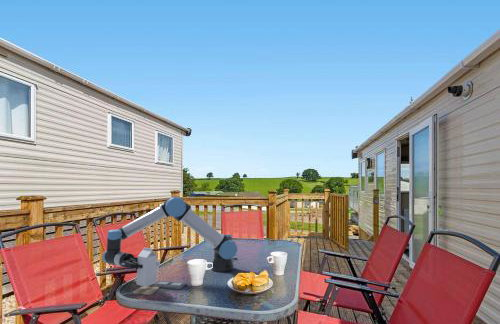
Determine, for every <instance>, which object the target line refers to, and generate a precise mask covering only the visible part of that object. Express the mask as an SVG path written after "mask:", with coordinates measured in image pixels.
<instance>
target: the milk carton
mask: <svg viewBox="0 0 500 324" xmlns="http://www.w3.org/2000/svg"><path fill="white" fill-rule="evenodd" d="M142 247H143V246H142ZM137 258H138V264H139V263H144V264H148V270H145V269H140V268H138V269H137V270H136V285H137V286H140V287H141V286H144V287H146V286H153V285H155V284H156V283H157V267H158V266H157V261H158V255H157V254H156V253H155V252H154V251H153V248H150V247H143V249H142V250H141V251H140V253H139V254H138V255H137Z"/></svg>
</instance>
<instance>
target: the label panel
mask: <svg viewBox="0 0 500 324" xmlns="http://www.w3.org/2000/svg"><path fill="white" fill-rule="evenodd" d="M186 285H187V282H184V281H182V282H181V281H168V280H159V281H158V282H156V284H153V285H152V286H153V287H159V289H166V290H167V289H168V290H169V289H170V290H182V289H183V288H184V287H186Z"/></svg>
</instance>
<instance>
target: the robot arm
mask: <svg viewBox="0 0 500 324" xmlns="http://www.w3.org/2000/svg"><path fill="white" fill-rule="evenodd" d="M169 217H172V218H174V219H175V220H176V221H177V222H182V223H184V224H185V225H186V226H187V227H189V228H190V229H191V230H193V231H194V232H195V233H196V234H197V235H199V236H200V237H201V238H203V240H205V242H208V243H209V245H211V249H212V250H213V259H212V262H211V267H212V263H213V268H212V269H211V270H212V271H213V272H216V273H218V272H219V273H225V272H226V273H227V272H231V271H233V270H234V269H235V268H234V267H235V266H234V263H233V258H235V256H236V255H237V253H238V245H237V244H236V243H237V242H235V241H234V240H232V239H233V237H232V235H231V234H225V233H220V232H218V231H217V230H216V229H215V228H214V227H213V226H212V225H210V224H209V223H207V222H206V221H205V220H204V219H202V217H200V216H199V215H198V214H196V213H195V212H194V211H193V210H192V206H191V205H189V204H188V203H187V202H186V201H185V200H184V199H182V198H181V197H179V196H178V195H177V196H171V197H169V198H168V199H166V200H165V201H163V202H162V203H160V204H159V206H158V207H156V208H155V209H152V210H151V211H149V212H147V213H144V215H141V216H140V217H138V218H136V219H134V220H132V221H130V222H128V223H127V224H125V225H123V226H121V227H120V228H118V229H109V230H108V231H107V235H106V238H107V239H106V250H105V251H103V254H102V257H101V258H102V259H101V260H102V261H103V262H104V263H105V264H108V265H114V266H119V267H121V268H128V269H132V270H133V269H135V270H136V271H137V269H138V268H140V269H145V270H148V264H144V263H139V264H138V256H134V254H132V253H130V252H123V251H122V250H121V249H122V242H123V241H124V240H126V239H128V238H129V237H131V236H133V235H135V234H137V233H139V232H140V231H142V230H144V229H145V228H148V227H150V226H151V225H153V224H155V223H157V222H158V221H160V220H163V219H164V218H169ZM157 267H158V268H159V267H161V261H160V260H157ZM211 267H210V268H211Z"/></svg>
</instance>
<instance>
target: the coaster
mask: <svg viewBox="0 0 500 324" xmlns="http://www.w3.org/2000/svg"><path fill="white" fill-rule="evenodd" d="M159 289H160V288H159V287H153V285H149V286H146V287H144V286H140V287H138V288H136V289H135V290H133V291H132V294H136V295H149V296H151V295H152V294H155V292H156V291H158V290H159Z"/></svg>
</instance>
